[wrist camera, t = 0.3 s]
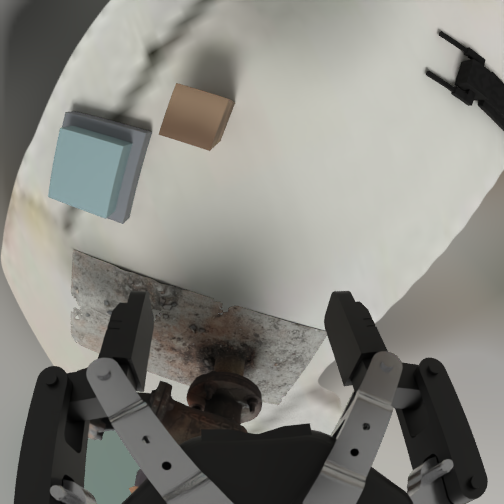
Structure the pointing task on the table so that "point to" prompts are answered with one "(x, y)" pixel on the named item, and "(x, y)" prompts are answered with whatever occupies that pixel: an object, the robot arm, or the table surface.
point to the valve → (195, 350)
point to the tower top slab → (88, 170)
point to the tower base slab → (135, 159)
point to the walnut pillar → (196, 117)
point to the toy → (476, 84)
